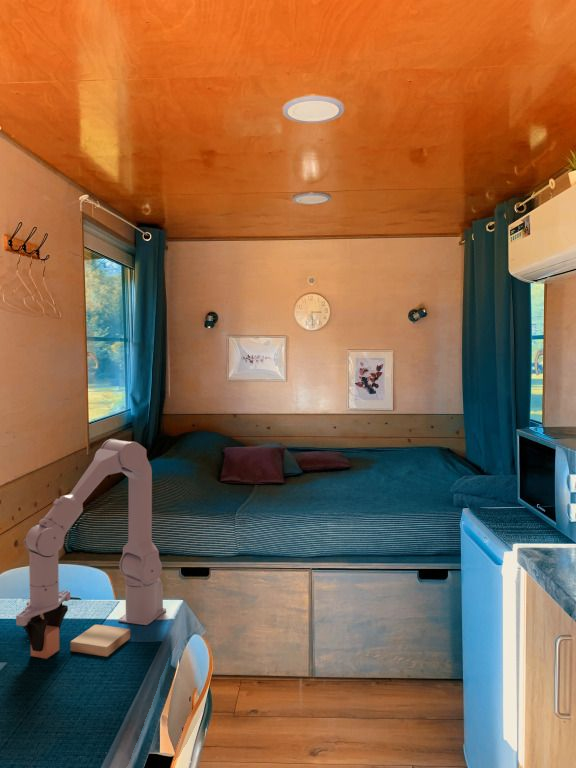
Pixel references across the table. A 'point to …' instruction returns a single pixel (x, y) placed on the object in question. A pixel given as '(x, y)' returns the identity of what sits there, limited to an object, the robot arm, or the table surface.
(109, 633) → the birch block
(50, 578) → the robot arm
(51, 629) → the terracotta block
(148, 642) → the table surface
